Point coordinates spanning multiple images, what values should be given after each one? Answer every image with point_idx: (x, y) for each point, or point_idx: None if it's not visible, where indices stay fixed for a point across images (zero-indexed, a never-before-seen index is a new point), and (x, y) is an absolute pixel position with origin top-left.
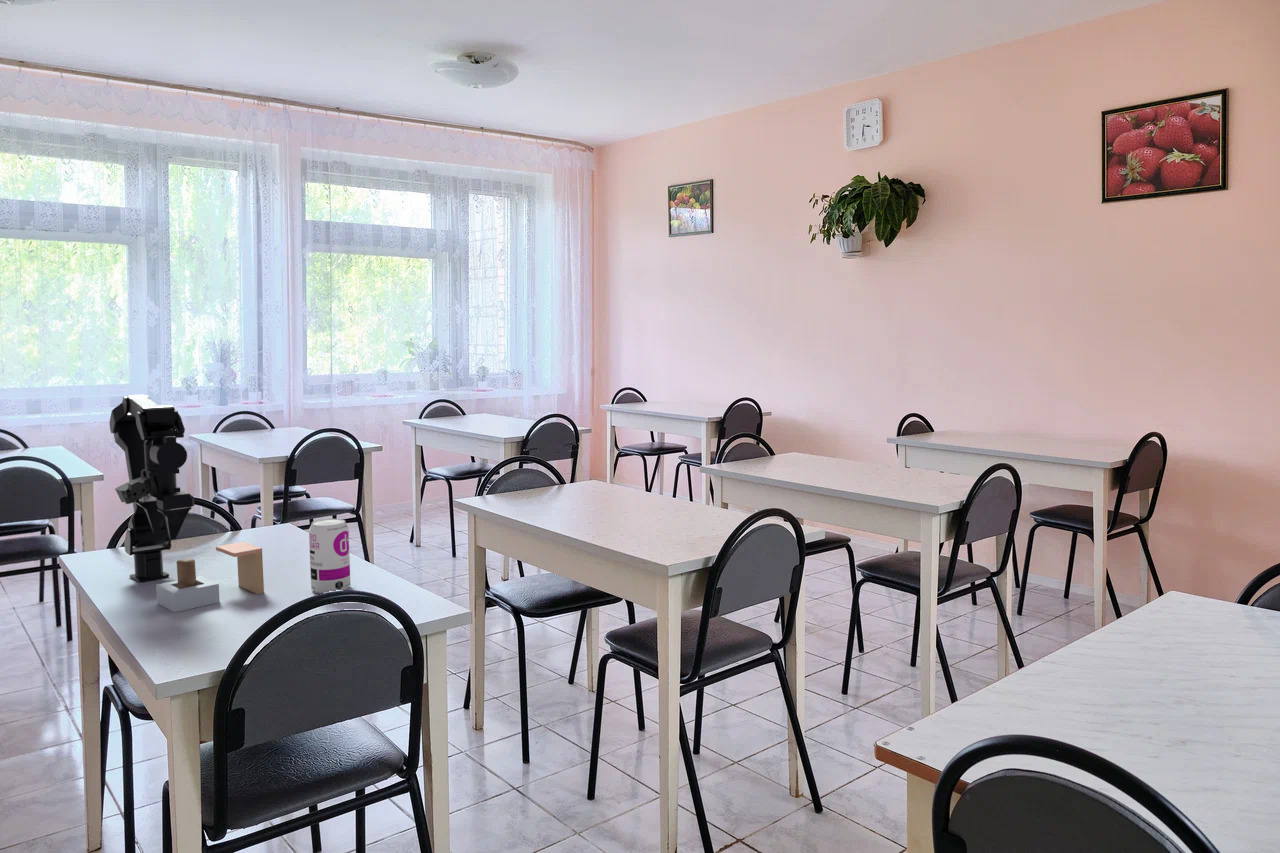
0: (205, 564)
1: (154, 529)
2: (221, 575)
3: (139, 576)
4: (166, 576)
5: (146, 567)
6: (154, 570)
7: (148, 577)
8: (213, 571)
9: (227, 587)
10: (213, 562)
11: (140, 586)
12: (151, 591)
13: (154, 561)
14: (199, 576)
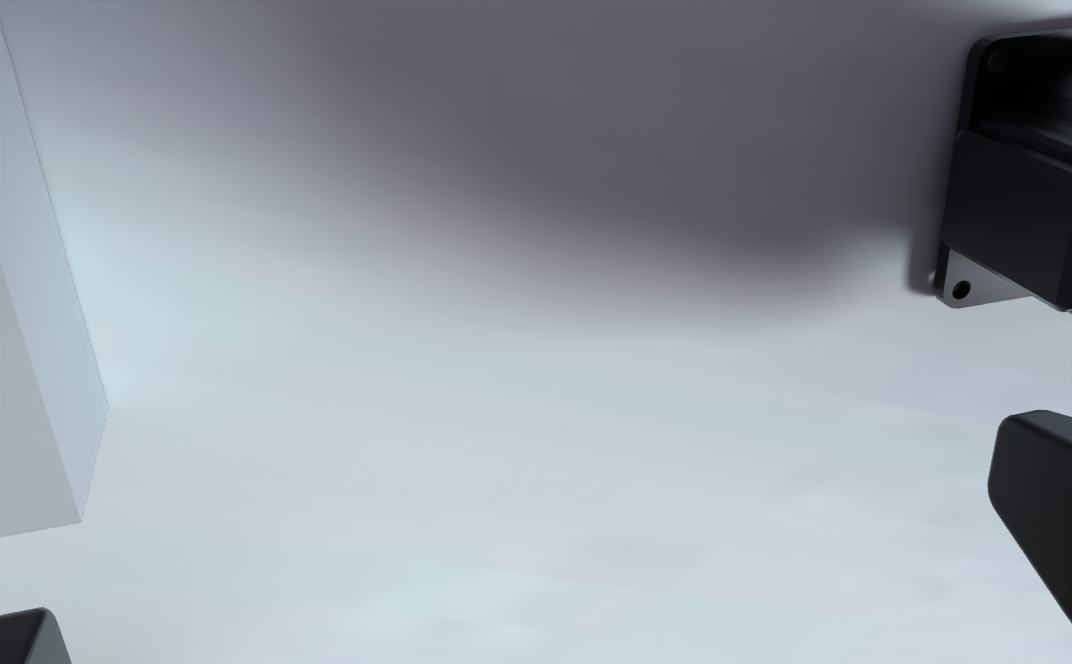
0: None
1: (1055, 468)
2: (644, 623)
3: (1064, 67)
4: (936, 278)
5: (1057, 147)
6: (990, 204)
7: (968, 128)
8: (807, 592)
9: (211, 614)
10: (1038, 622)
11: (839, 5)
12: (570, 40)
13: (1058, 244)
14: (58, 507)
